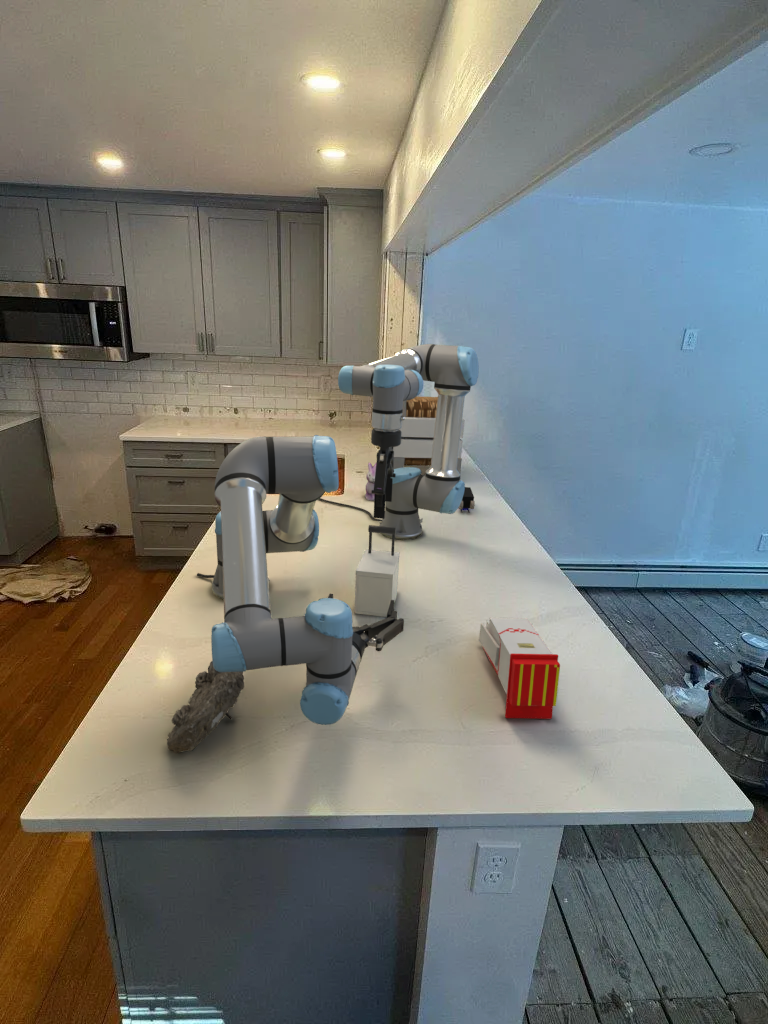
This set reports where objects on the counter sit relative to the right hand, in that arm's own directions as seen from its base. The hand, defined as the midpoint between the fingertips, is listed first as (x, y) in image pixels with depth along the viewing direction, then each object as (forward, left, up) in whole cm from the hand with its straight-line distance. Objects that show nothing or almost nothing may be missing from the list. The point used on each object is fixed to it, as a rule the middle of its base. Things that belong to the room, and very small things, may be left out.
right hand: (383, 509), depth 149 cm
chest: (+3, -4, -25) cm, 26 cm away
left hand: (+20, -22, -11) cm, 32 cm away
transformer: (-83, +96, -25) cm, 129 cm away
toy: (+46, -1, -25) cm, 52 cm away
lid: (+3, -3, -14) cm, 15 cm away
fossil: (+19, -58, -25) cm, 65 cm away
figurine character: (-35, +74, -25) cm, 86 cm away
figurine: (-66, +53, -25) cm, 88 cm away
